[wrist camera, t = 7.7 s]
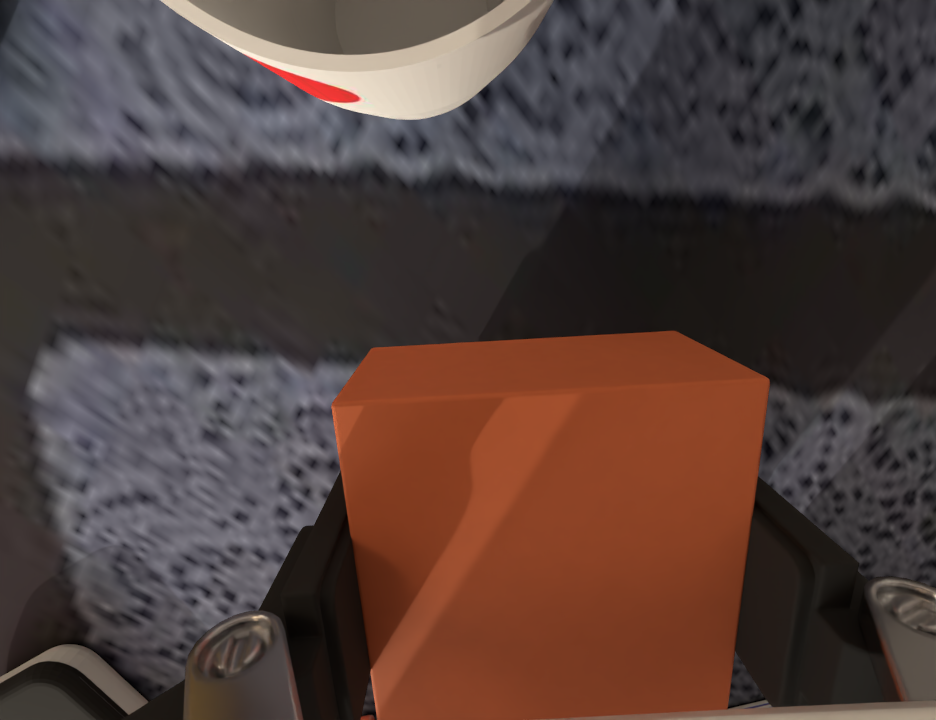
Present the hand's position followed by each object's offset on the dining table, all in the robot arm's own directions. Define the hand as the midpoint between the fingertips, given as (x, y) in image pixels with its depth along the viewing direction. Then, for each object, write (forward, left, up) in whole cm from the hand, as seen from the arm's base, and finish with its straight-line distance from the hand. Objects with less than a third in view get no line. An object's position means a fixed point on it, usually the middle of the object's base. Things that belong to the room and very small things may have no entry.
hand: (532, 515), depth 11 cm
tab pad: (+1, 0, -1) cm, 2 cm away
